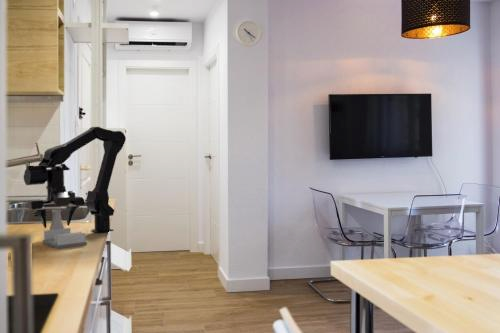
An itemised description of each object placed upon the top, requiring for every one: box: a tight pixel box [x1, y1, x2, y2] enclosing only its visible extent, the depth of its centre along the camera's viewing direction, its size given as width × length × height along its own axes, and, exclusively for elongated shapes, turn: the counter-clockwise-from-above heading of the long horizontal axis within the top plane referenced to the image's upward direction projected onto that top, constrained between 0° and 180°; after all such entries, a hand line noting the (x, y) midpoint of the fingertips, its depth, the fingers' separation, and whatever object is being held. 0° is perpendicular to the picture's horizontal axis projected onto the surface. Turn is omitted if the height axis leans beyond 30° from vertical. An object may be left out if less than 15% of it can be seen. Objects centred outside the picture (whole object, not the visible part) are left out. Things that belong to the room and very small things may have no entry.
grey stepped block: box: [42, 227, 88, 249], centre depth 180 cm, size 14×10×4 cm
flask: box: [49, 209, 65, 230], centre depth 191 cm, size 7×7×10 cm
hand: (56, 226), depth 191 cm, fingers open, 8 cm apart
